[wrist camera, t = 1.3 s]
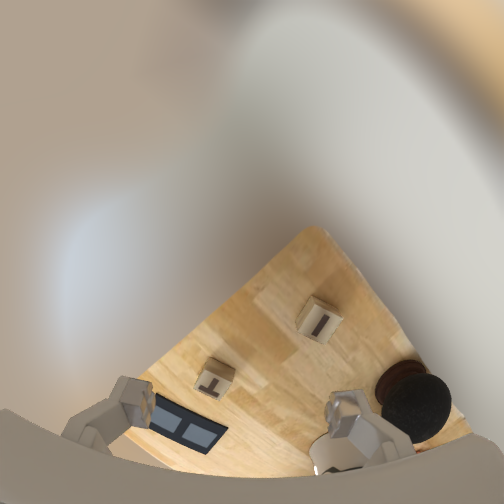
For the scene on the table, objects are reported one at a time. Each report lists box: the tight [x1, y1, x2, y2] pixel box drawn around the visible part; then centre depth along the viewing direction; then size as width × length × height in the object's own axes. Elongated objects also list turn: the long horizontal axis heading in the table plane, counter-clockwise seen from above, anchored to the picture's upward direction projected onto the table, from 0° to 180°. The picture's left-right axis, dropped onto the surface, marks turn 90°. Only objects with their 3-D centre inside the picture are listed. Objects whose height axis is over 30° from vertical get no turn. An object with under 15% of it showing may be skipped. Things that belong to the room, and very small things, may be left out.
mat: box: [148, 393, 228, 455], centre depth 48 cm, size 16×12×1 cm
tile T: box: [193, 357, 235, 401], centre depth 43 cm, size 5×5×4 cm
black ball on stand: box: [375, 360, 451, 444], centre depth 36 cm, size 13×13×15 cm
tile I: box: [295, 295, 343, 345], centre depth 40 cm, size 5×5×4 cm
